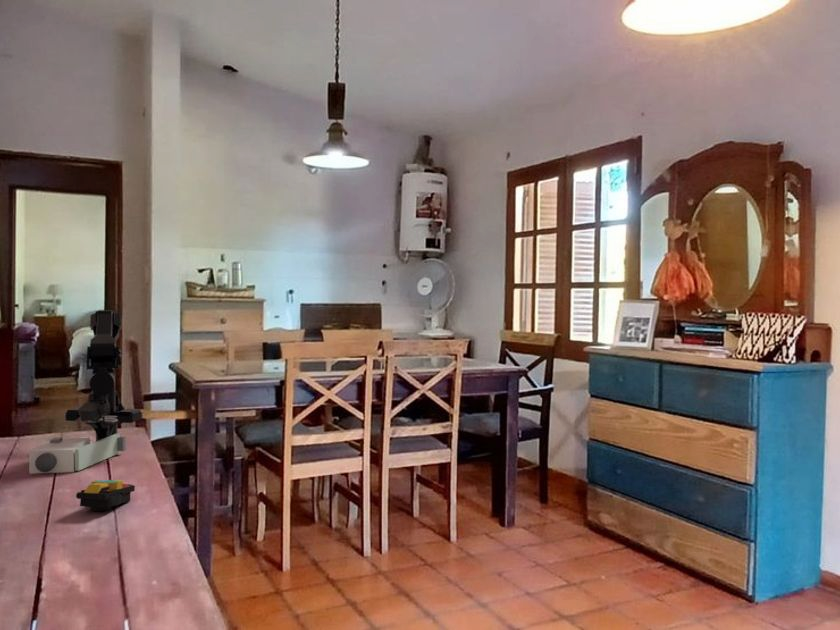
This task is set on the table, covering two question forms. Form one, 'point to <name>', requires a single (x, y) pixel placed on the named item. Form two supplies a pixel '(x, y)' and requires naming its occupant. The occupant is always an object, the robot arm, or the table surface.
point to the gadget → (105, 494)
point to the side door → (98, 451)
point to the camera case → (55, 455)
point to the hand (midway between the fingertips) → (103, 446)
